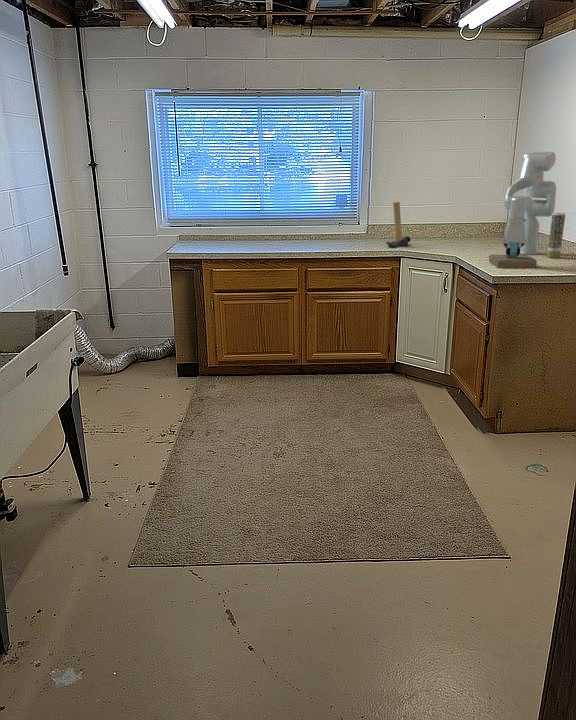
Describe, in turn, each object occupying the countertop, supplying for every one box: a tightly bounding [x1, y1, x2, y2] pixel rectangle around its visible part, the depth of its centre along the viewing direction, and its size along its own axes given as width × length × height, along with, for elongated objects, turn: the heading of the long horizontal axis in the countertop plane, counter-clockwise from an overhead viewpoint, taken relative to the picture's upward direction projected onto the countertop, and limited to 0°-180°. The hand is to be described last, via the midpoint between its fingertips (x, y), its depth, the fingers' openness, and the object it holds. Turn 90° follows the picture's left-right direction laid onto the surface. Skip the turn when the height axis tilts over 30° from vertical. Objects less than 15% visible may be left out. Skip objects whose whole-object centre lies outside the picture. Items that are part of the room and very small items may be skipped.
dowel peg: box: [508, 242, 518, 258], centre depth 324 cm, size 4×4×9 cm
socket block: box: [488, 254, 538, 269], centre depth 326 cm, size 20×20×4 cm
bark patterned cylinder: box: [546, 212, 566, 259], centre depth 343 cm, size 7×7×25 cm
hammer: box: [385, 200, 411, 248], centre depth 394 cm, size 20×5×30 cm, turn 133°
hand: (512, 255), depth 325 cm, fingers closed on dowel peg, 4 cm apart
